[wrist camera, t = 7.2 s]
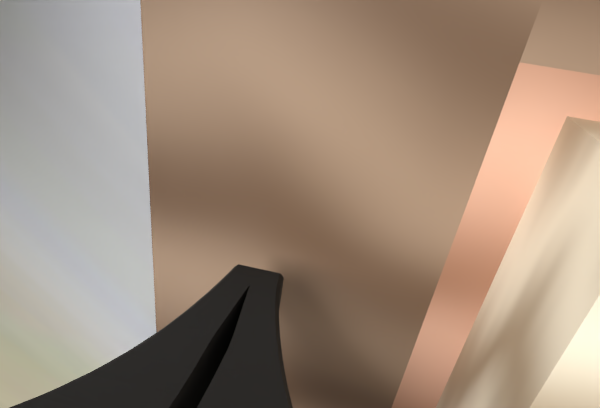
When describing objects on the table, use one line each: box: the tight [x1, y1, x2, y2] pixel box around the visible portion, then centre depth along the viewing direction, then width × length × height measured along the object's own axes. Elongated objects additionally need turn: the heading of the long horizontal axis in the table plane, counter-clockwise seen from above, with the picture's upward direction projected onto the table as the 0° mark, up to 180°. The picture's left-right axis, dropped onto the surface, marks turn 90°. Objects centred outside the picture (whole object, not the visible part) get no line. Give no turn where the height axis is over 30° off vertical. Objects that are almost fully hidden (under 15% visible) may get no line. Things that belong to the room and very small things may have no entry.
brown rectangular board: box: [141, 0, 600, 408], centre depth 12 cm, size 18×24×1 cm
